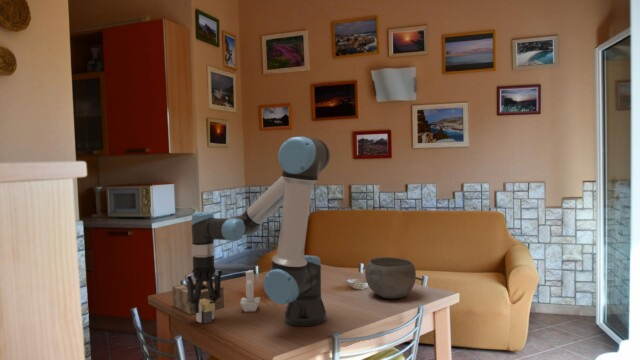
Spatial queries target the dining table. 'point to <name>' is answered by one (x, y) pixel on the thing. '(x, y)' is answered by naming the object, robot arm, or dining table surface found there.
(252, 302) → the figurine
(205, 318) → the stand
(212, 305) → the pale yellow block
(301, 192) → the robot arm
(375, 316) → the dining table surface
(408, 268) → the bowl
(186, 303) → the brown wooden box
